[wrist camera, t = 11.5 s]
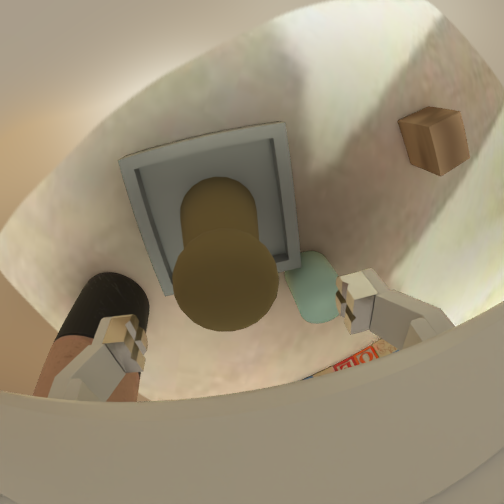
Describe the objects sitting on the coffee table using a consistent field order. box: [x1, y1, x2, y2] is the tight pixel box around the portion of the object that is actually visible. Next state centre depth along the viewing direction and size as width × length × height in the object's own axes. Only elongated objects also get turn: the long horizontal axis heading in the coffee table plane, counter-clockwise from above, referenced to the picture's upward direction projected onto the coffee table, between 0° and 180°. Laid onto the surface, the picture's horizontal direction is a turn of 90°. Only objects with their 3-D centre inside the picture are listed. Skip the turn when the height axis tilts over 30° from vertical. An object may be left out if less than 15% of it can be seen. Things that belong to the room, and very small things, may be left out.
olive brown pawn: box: [172, 177, 279, 331], centre depth 17 cm, size 6×6×11 cm
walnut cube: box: [398, 107, 470, 176], centre depth 19 cm, size 4×4×4 cm
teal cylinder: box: [285, 251, 339, 323], centre depth 25 cm, size 4×4×5 cm
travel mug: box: [33, 273, 149, 402], centre depth 17 cm, size 8×8×20 cm
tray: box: [118, 121, 301, 296], centre depth 22 cm, size 12×12×2 cm
